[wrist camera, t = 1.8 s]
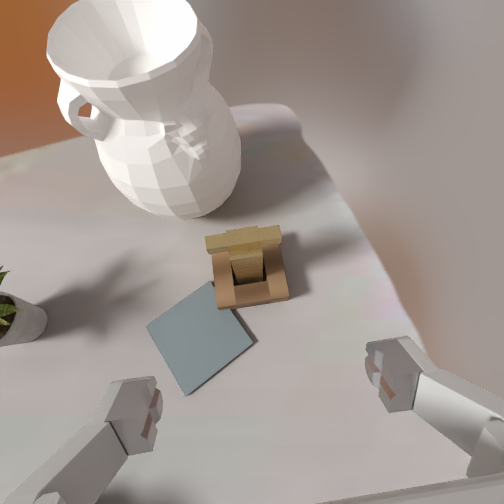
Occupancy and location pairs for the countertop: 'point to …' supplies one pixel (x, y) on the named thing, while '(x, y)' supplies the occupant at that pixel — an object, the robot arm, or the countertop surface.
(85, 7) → the white vase
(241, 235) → the t key
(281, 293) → the socket block
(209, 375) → the slate mat
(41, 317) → the house plant
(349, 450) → the countertop surface
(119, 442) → the robot arm
